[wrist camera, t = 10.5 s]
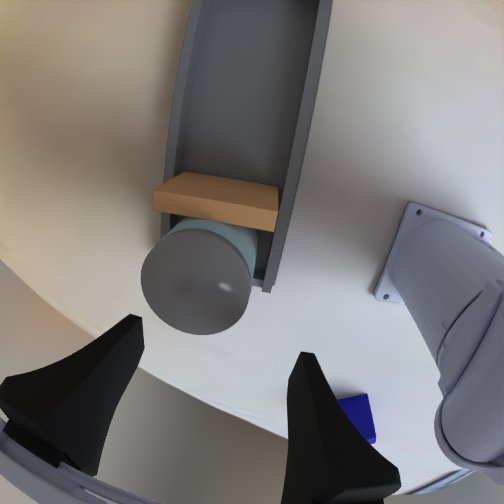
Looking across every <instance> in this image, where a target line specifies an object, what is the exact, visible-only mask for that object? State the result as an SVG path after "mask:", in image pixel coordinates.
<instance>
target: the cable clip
mask: <svg viewBox="0 0 504 504" xmlns="http://www.w3.org/2000/svg"><path fill="white" fill-rule="evenodd" d="M337 401H338V402H339V404H340V406H341V407H342V409H343V411H344V412H345V414H346V415H347V417H348V418H349V419H350V421H351V422H352V424H353V425H354V426H355V427H356V429H357V430H358V431H359V432H360V434H361V435H362V436H363V437H364V438H365V439H366V440H367V441H368V442H369V443H370V444H373V443H375V442H376V433H375V428H374V423H373V418H372V413H371V408H370V404H369V399H368V395H367V394H363V395H358V396H354V397H349V398H344V399H339V400H337Z"/></svg>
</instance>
